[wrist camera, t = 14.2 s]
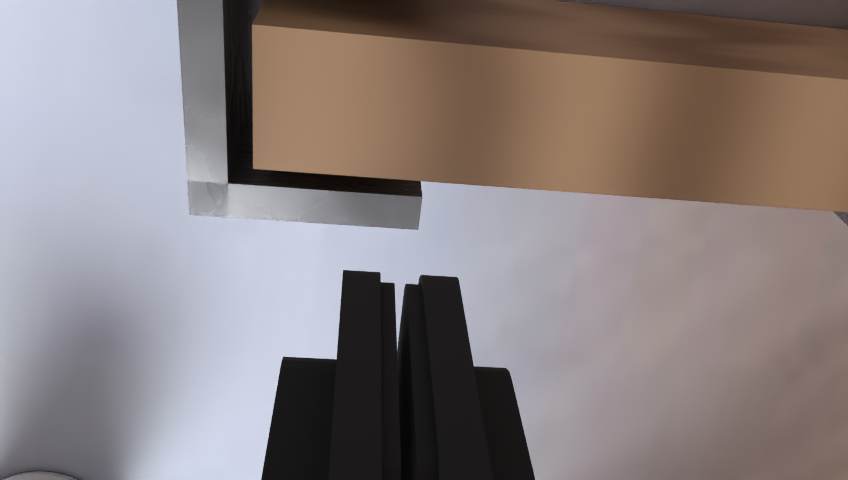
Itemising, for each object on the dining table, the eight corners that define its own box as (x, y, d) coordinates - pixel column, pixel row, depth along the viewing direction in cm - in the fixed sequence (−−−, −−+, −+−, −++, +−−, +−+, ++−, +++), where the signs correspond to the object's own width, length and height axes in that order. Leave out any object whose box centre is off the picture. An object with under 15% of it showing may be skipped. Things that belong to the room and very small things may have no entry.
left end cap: (437, -99, 21) (454, -65, 16) (410, 150, 25) (418, 229, 20) (213, -124, 20) (171, -96, 16) (222, 136, 24) (189, 215, 20)
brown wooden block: (1009, 45, 23) (1153, 108, 19) (955, 150, 25) (1074, 228, 21) (276, -28, 21) (252, 24, 16) (275, 93, 23) (252, 168, 18)
